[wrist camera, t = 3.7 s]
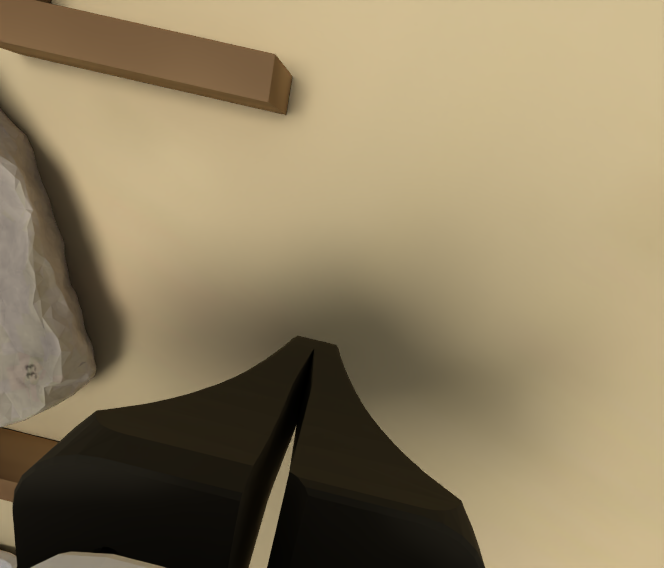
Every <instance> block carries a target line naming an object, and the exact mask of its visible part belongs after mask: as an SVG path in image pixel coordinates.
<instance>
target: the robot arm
mask: <svg viewBox="0 0 664 568" xmlns="http://www.w3.org/2000/svg"><path fill="white" fill-rule="evenodd" d="M296 425H297V426H296ZM295 427H296V432H295V439H294V445H293V452H292V459H291V465H290V472H289V476H288V481H287V485H286V489H285V493H284V498H283V502H282V506H281V511H280V515H279V519H278V524H277V528H276V532H275V536H274V541H273V545H272V549H271V554H270V558H269V562H268V566H267V568H485V566H484V563H483V559H482V556H481V553H480V549H479V546H478V543H477V540H476V537H475V534H474V531H473V528H472V526H471V523H470V521H469V519H468V516H467V514H466V511H465V509H464V506H463V503H462V501H461V500H460V499H458V498H457V497H456V496H454V495H453V494H452V493H450V492H449V491H448V490H447V489H445V488H444V487H443V486H441V485H440V484H439V483H437V482H436V481H435V480H434V479H432V478H431V477H430V476H428V475H427V474H426V473H425V472H423V471H422V470H421V469H420V468H419V467H418V466H417V465H416V464H415V463H413V462H412V461H411V460H410V459H409V458H408V457H407V456H406V455H405V454H404V453H403V452H402V451H401V450H400V449H399V448H398V447H397V446H396V445H395V444H394V443H393V442H392V441H391V440H390V439H389V438H388V437H387V435H386V434H385V433H384V432H383V431H382V430H381V429H380V427H379V426H378V425H377V424H376V422H375V421H374V420H373V418H372V417H371V416H370V414H369V413H368V412H367V410H366V409H365V407H364V406H363V404H362V402H361V401H360V399H359V397H358V395H357V394H356V392H355V390H354V388H353V386H352V384H351V382H350V379H349V377H348V375H347V373H346V370H345V368H344V365H343V363H342V360H341V357H340V353H339V349H338V347H337V346H336V345H334V344H330V343H326V342H322V341H317V340H313V339H309V338H305V337H301V336H297V337H295V338H293V339H292V340H291V341H290V342H289V343H287V344H286V345H285V346H284V347H282V348H281V349H280V350H278V351H277V352H276V353H274V354H273V355H271V356H270V357H268V358H267V359H266V360H264V361H263V362H261V363H259V364H258V365H256V366H254V367H253V368H251V369H249V370H248V371H246V372H244V373H242V374H240V375H238V376H236V377H234V378H232V379H229V380H227V381H225V382H222V383H220V384H217V385H214V386H211V387H208V388H205V389H202V390H199V391H197V392H194V393H190V394H187V395H183V396H179V397H175V398H171V399H167V400H162V401H158V402H153V403H148V404H142V405H135V406H128V407H121V408H114V409H107V410H98V411H96V412H94V413H93V414H92V415H90V416H89V417H88V418H87V419H85V420H84V421H83V422H81V423H80V424H79V425H78V426H76V427H75V428H74V429H73V430H72V431H71V432H70V433H68V434H67V435H66V436H65V437H64V438H63V439H62V440H61V441H60V442H58V443H57V444H56V445H55V446H54V447H53V448H52V449H51V450H50V451H48V452H47V453H46V454H45V455H44V456H43V457H42V458H41V459H39V460H38V461H37V462H36V463H35V464H34V465H33V466H32V467H31V468H29V469H28V470H27V471H26V472H25V473H24V474H23V475H22V476H21V478H20V480H19V482H18V484H17V486H16V488H15V490H14V498H13V521H14V534H15V546H16V556H15V555H14V554H12V553H10V552H6V551H2V550H0V568H249V564H250V561H251V557H252V554H253V550H254V546H255V543H256V539H257V536H258V532H259V529H260V525H261V522H262V518H263V515H264V511H265V508H266V504H267V501H268V498H269V495H270V493H271V490H272V487H273V484H274V482H275V479H276V476H277V474H278V471H279V469H280V466H281V464H282V461H283V458H284V456H285V453H286V451H287V448H288V445H289V443H290V440H291V438H292V435H293V432H294V430H295Z"/></svg>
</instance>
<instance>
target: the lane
mask: <svg viewBox="0 0 664 568" xmlns="http://www.w3.org/2000/svg"><path fill="white" fill-rule="evenodd" d="M0 48H3V49H6V50H9V51H12V52H15V53H18V54H22V55H26V56H30V57H35V58H39V59H44V60H48V61H52V62H57V63H61V64H66V65H70V66H74V67H79V68H83V69H87V70H92V71H96V72H101V73H105V74H109V75H114V76H118V77H123V78H127V79H131V80H136V81H140V82H144V83H149V84H153V85H158V86H162V87H166V88H171V89H175V90H179V91H184V92H188V93H193V94H197V95H201V96H206V97H210V98H215V99H219V100H223V101H228V102H232V103H236V104H241V105H245V106H250V107H254V108H258V109H263V110H267V111H272V112H276V113H280V114H285V115H286V113H287V106H288V100H289V94H290V88H291V82H292V75H291V74H290V73H289V71H288V70H287V69H286V67H285V66H284V65H283V64H282V62H281V61H280V60H279V58H278V57H277V56H276V55H275V54H272V53H267V52H263V51H258V50H254V49H250V48H245V47H241V46H236V45H232V44H227V43H223V42H218V41H214V40H210V39H205V38H201V37H196V36H192V35H187V34H183V33H178V32H174V31H170V30H165V29H161V28H156V27H152V26H147V25H143V24H138V23H134V22H130V21H125V20H121V19H116V18H112V17H107V16H103V15H98V14H94V13H90V12H85V11H81V10H76V9H72V8H67V7H63V6H58V5H54V4H50V0H0ZM57 443H58V442H56V441H52V440H48V439H44V438H40V437H36V436H32V435H28V434H24V433H20V432H16V431H12V430H8V429H4V428H0V499H3V500H7V501H11V502H13V498H14V490H15V488H16V486H17V484H18V482H19V480H20V478H21V476H22V475H23V474H24V473H25V472H26V471H27V470H28V469H29V468H31V467H32V466H33V465H34V464H35V463H36V462H37V461H38V460H39V459H41V458H42V457H43V456H44V455H45V454H46V453H47V452H48V451H50V450H51V449H52V448H53V447H54V446H55V445H56V444H57Z"/></svg>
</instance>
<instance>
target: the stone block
mask: <svg viewBox="0 0 664 568" xmlns="http://www.w3.org/2000/svg"><path fill="white" fill-rule="evenodd" d="M64 252H65V244H64V241H63V239H62V236H61V233H60V231H59V229H58V227H57V224H56V221H55V218H54V215H53V211H52V207H51V203H50V199H49V197H48V195H47V193H46V189H45V187H44V185H43V184H42V181H41V178H40V175H39V172H38V168H37V165H36V161H35V156H34V152H33V149H32V147H31V145H30V143H29V140H28V138H27V136H26V134H24V133H23V132H22V131H21V130H20V129H19V128H18V127H17V126H15V125H14V124H13V122H12V121H11V120H10V119H9V118H8V117H7V116H6V115H5V113H4V112H3V111H2V109H1V108H0V427H3V426H6V425H10V424H13V423H17V422H20V421H24V420H26V419H28V418H30V417H32V416H34V415H36V414H38V413H41V412H43V411H45V410H47V409H49V408H51V407H53V406H55V405H57V404H59V403H60V402H62V401H64V400H65V399H67V398H69V397H70V396H72V395H74V394H75V393H76V392H77V391H78V390H79V389H80V388H82V387H83V386H84V385H85V384H87V383H88V382H89V380H90V379H91V378H92V377H94V376H95V373H96V368H97V367H96V364H95V361H94V352H93V345H92V344H91V342H90V339H89V336H88V335H87V333H86V331H85V327H84V320H83V314H82V310H81V308H80V306H79V301H78V297H77V294H76V292H75V290H74V289H73V287H72V286H71V284H70V279H69V273H68V267H67V263H66V260H65V256H64Z"/></svg>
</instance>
